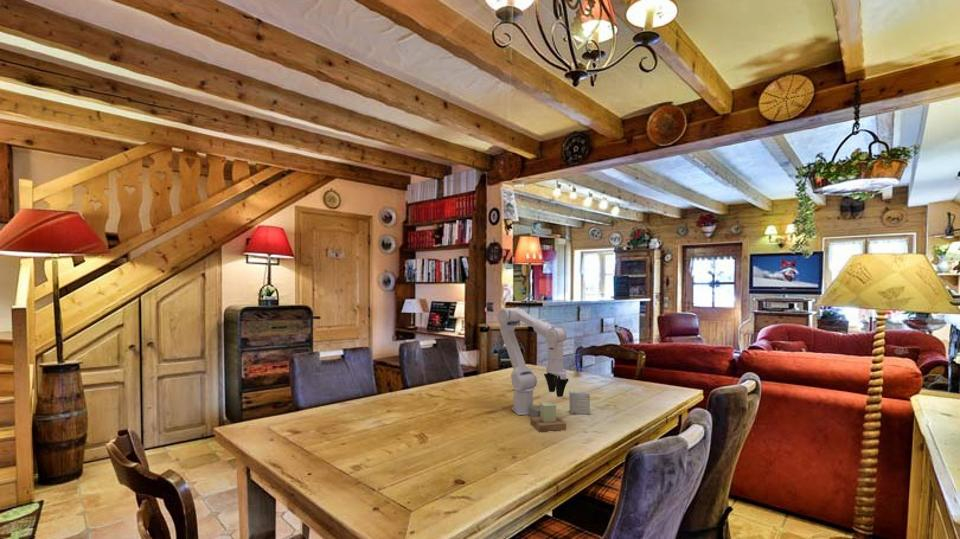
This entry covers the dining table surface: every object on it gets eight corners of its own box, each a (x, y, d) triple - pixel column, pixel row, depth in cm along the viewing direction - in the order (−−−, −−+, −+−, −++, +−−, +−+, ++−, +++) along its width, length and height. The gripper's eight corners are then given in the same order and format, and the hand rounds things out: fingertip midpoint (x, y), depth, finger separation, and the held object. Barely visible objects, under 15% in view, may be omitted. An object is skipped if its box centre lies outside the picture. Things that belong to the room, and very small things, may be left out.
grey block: (528, 416, 177) (528, 406, 177) (543, 414, 180) (543, 404, 180) (537, 421, 170) (537, 411, 170) (553, 419, 173) (553, 409, 173)
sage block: (540, 418, 165) (540, 402, 165) (552, 418, 165) (551, 402, 166) (544, 422, 160) (543, 406, 160) (556, 421, 161) (555, 405, 161)
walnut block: (530, 425, 167) (530, 417, 167) (555, 423, 169) (555, 415, 169) (540, 434, 157) (540, 425, 157) (565, 432, 159) (565, 423, 159)
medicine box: (588, 411, 183) (588, 390, 183) (590, 414, 179) (590, 393, 179) (569, 411, 184) (569, 390, 184) (570, 414, 179) (570, 392, 180)
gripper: (573, 361, 165) (573, 398, 164) (557, 355, 179) (557, 389, 178) (556, 362, 163) (556, 399, 162) (541, 356, 177) (541, 390, 177)
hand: (555, 394), depth 170 cm, fingers open, 7 cm apart
